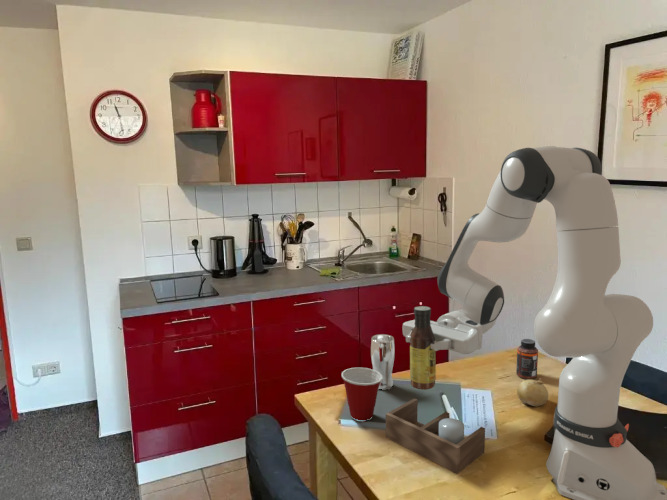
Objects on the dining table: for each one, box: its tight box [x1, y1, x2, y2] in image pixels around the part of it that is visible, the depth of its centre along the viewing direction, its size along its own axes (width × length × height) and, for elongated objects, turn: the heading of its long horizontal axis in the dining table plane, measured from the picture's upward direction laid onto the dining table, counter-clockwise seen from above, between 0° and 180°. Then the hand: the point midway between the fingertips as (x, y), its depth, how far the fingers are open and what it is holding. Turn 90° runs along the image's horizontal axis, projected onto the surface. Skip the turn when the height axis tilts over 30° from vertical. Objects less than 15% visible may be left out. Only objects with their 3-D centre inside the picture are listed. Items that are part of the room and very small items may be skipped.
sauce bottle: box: [409, 305, 437, 391], centre depth 123 cm, size 6×6×20 cm
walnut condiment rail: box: [385, 398, 486, 475], centre depth 116 cm, size 20×11×7 cm, turn 43°
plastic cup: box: [341, 367, 383, 420], centre depth 131 cm, size 11×11×12 cm
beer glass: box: [370, 333, 395, 391], centre depth 148 cm, size 7×7×15 cm
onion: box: [516, 377, 549, 407], centre depth 137 cm, size 8×8×7 cm
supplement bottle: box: [515, 338, 539, 380], centre depth 153 cm, size 6×6×11 cm
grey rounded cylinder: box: [439, 417, 465, 444], centre depth 113 cm, size 6×6×7 cm
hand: (420, 343), depth 122 cm, fingers closed on sauce bottle, 6 cm apart
